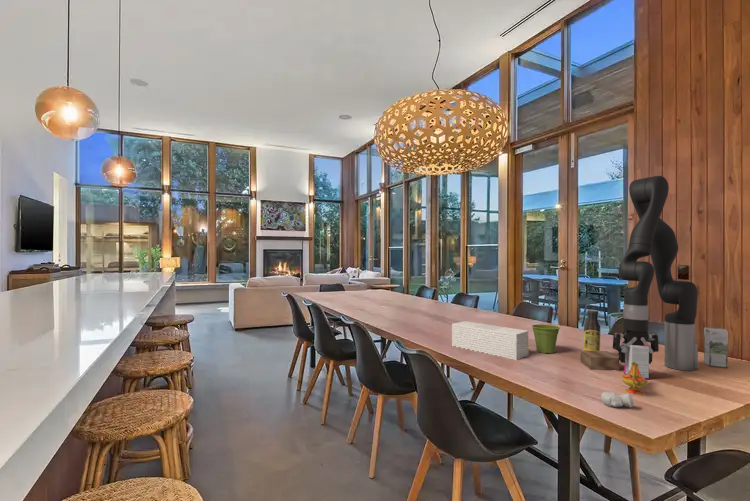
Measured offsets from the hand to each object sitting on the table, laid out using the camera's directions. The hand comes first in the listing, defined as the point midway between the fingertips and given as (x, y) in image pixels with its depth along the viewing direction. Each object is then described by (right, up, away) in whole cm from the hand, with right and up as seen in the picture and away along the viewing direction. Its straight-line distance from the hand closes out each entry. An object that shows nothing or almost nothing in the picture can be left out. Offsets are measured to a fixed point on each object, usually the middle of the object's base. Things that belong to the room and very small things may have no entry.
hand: (635, 362), depth 139 cm
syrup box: (+41, -5, +14) cm, 43 cm away
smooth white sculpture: (-23, -5, -27) cm, 36 cm away
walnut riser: (-6, -5, +13) cm, 15 cm away
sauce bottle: (-1, -5, +25) cm, 26 cm away
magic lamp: (-9, -5, -14) cm, 18 cm away
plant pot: (-17, -5, +35) cm, 39 cm away
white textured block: (-42, -6, +37) cm, 56 cm away
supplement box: (0, -5, 0) cm, 5 cm away
